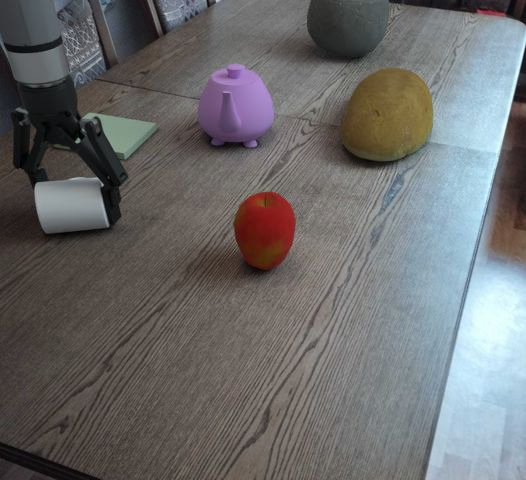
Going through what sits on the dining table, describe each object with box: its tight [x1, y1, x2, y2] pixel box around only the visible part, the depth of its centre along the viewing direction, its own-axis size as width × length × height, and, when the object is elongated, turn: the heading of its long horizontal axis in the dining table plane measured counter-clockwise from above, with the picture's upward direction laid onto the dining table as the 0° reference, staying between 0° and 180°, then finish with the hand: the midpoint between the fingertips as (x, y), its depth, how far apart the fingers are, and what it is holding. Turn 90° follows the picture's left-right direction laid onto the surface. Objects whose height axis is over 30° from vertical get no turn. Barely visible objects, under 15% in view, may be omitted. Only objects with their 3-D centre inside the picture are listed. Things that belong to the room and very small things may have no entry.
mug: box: [33, 176, 111, 235], centre depth 90 cm, size 12×10×8 cm
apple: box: [232, 191, 297, 271], centre depth 80 cm, size 9×9×12 cm
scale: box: [53, 112, 158, 161], centre depth 112 cm, size 16×14×3 cm
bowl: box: [306, 0, 390, 59], centre depth 144 cm, size 21×21×15 cm
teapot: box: [197, 63, 275, 148], centre depth 109 cm, size 22×16×14 cm
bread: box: [340, 67, 434, 162], centre depth 113 cm, size 18×35×10 cm, turn 167°
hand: (82, 214), depth 91 cm, fingers closed on mug, 12 cm apart
